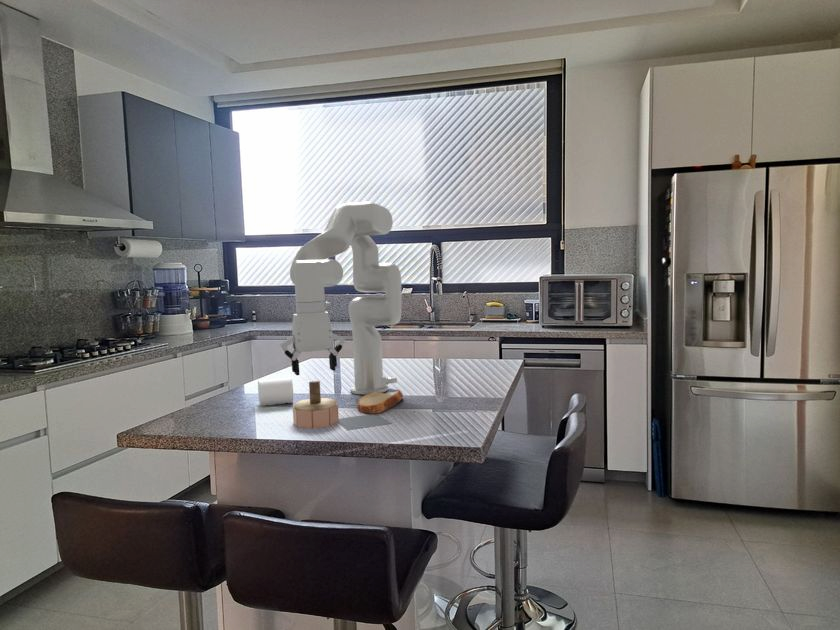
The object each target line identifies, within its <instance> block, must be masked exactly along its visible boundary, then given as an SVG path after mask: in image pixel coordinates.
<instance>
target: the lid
mask: <svg viewBox="0 0 840 630" xmlns="http://www.w3.org/2000/svg"><path fill="white" fill-rule="evenodd" d="M308 386H309V390H308V391H309V398H306V399H302V400H298V401H296V402H295V403H294V404H293V406H294V407H295V409H297V410H303V411H316V410H324V409H329V408H332V407H334V406H336V403H337V400H336V399H334V398H330V397H329V398H328V397H321V382H320V380H311V381H309V382H308Z"/></svg>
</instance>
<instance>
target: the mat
mask: <svg viewBox="0 0 840 630" xmlns="http://www.w3.org/2000/svg"><path fill="white" fill-rule="evenodd" d="M337 423H338V424H339V425H340V426H341V427H343V429H345V430H347V431H353V430H358V429H365V428H373V427H380V426H386V425H392V424H393V423H392V421H389V420H388V419H386V418H385V417H383V416H382V415H379V413H378V414H362V415H355V416H348V417H342V418H339V421H338V422H337Z"/></svg>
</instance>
